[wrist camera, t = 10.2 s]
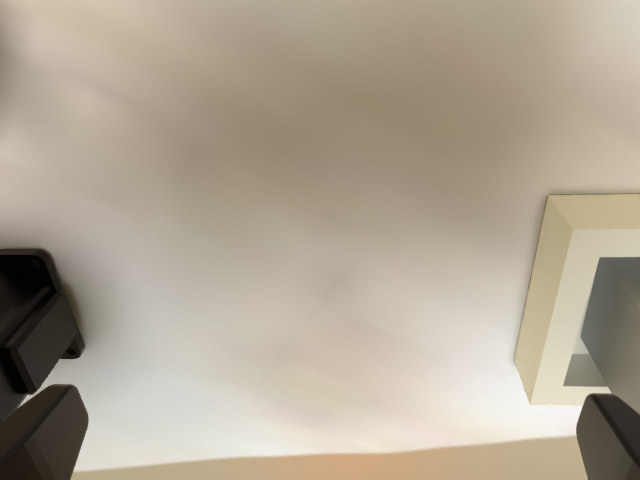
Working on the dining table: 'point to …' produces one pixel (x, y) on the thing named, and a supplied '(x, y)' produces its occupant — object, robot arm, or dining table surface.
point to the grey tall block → (616, 326)
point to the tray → (570, 293)
